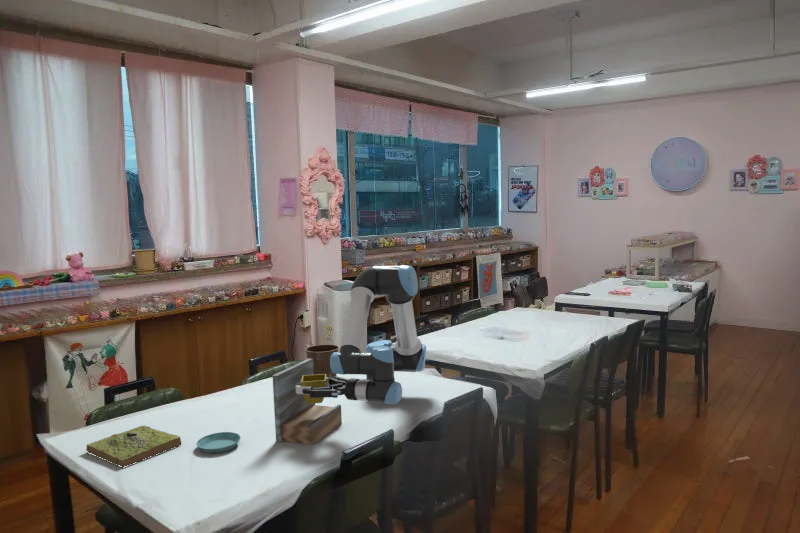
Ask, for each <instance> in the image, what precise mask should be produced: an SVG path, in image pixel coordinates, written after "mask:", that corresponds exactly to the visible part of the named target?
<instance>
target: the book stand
mask: <svg viewBox="0 0 800 533" xmlns="http://www.w3.org/2000/svg"><path fill="white" fill-rule="evenodd" d="M303 375H314V369H313V359H308V358H306V359H305V360H302V361H301V362H298V363H296V364H294V365H292V366H289V367H287V368H286V369H283V370H281V371H278V372H276V373H274V374H272V376H271V377H272V388H273V390H272V393H273V409H274V411H273V412H274V428H275V441H276V442H279V443H281V442H287V443H294V444H300V445H308V446H312V445H314V444H315V443H317V442H319V441H320V440H321V439H323V437H325V436H327V435H328V434H329V433H331V432H332V431H333V430H335V429H336V428H338V427H339V426H340V425H341V424H343V421H342V417H343V416H342V405H341V404H337V405H335V406H328V405H317V404H316V403H313V404H308V403H307V402H306V400H305V398H304V396H303V394H296V386H302V385H301V380H302V376H303Z"/></svg>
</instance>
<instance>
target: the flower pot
mask: <svg viewBox="0 0 800 533" xmlns="http://www.w3.org/2000/svg"><path fill="white" fill-rule="evenodd" d="M301 385H302V386H307V387H311V386H312V387H313V388H320V387H327V385H326V374H318V375H303V376H302V380H301ZM303 396H304V398H305V400H306V402H307V403H308V404H313V403H315V404H321V403H323V401H324V399H325V397H321V398H310V395H306V394H303Z"/></svg>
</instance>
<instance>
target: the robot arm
mask: <svg viewBox="0 0 800 533" xmlns="http://www.w3.org/2000/svg"><path fill="white" fill-rule="evenodd" d="M418 291H419V283H418V276H417V272H416V270H415V268H414V267H413V266H411V265H404V264H401V265H372V266H369V267H367V268H366V269H364V270H363V271H362V272H361V273H359V275H357V276H356V279H355V280H354V281H353V283H352V284H351V287H350V291H349V296H350V303H349V306H348V312H347V317H346V321H345V325H344V329H343V334H342V338H341V342H340V346H339V350H338V352H334V353H332V355H331V358H330V368H331V371H332V372H333V373H335V374H338V375H343V376H344V375H366V378H365V379H364V378H354V377H351V378H345V377H342V376H333V378H332V377H330V378H326V387H320V388H313V387H312V386H311V387H307V386H296V394H306V395H310V398H321V397H324V398H333V399H334V398H335V399H337V398H339V396H343V395H344V396H345V398H346V399H347V401H348V400H349V401H360V402H365V404H366V403H376V404H378V403H379V404H385V405H395V404H396V405H397V404H399V403H400V401H401V399H402V397H403V387H402V384H401V383H400V382H399V381H396V380H395V372H405V373H406V372H408V373H416V372H417V373H418V372H423V370H424V369H425V367H426V366H425V365H426V356H427V345H426V344H423V343H422V341H421V340H420V339H419V337H418V334H417V326H416V319H415V313H414V312H415V311H414V306H413V300H414V298H415V296H416V295H417V294H418ZM376 296H385V299H386V302H388V303H389V304H390V306H391V312H392V318H393V323H394V330H395V336H396V341H395V343H394V344H393V342H392V341H391V340H390V339H389V340H388V339H384V340H382V339H381V340H377V341H374V342H370V343H368V344H367V345H366V347H365V352H362V347H363V342H364V336H365V332H366V328H367V323H368V318H369V312H370V307H371V303H372V302H374V300H375V297H376Z"/></svg>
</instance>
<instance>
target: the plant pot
mask: <svg viewBox="0 0 800 533" xmlns="http://www.w3.org/2000/svg"><path fill="white" fill-rule="evenodd" d="M339 350H340V346H339V345H337V344H317V345H315V344H314V345H311V346H308V347H306V348H305V350H304V351H305V353H306V359H313V369H314V375H318V374H326V378H330V377H332V378H333V376H337V374H335V373H333V372H332V371H331V368H330V358H331V355H332V353H334V352H339ZM337 377H338V376H337Z"/></svg>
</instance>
